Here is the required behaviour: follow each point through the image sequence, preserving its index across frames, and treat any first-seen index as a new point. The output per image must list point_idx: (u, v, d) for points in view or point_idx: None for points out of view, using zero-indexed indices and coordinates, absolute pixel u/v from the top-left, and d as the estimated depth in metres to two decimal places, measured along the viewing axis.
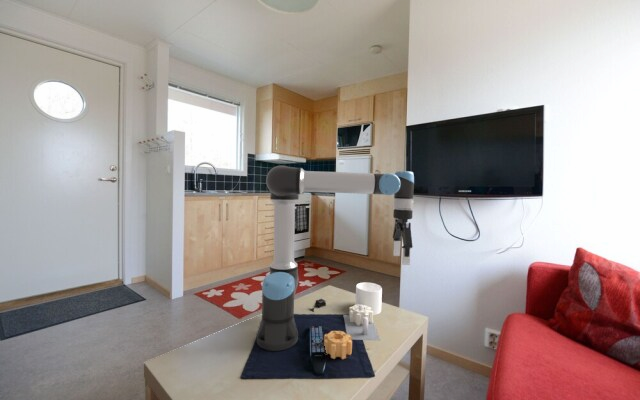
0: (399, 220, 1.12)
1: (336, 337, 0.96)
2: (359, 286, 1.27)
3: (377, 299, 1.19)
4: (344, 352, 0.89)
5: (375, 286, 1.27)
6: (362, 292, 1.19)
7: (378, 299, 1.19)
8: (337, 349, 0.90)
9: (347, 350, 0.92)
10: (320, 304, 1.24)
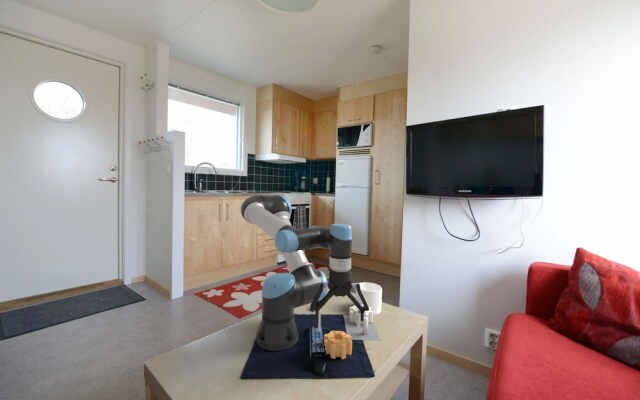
0: None
1: (336, 337, 0.96)
2: None
3: (377, 299, 1.19)
4: (344, 352, 0.89)
5: (375, 286, 1.27)
6: (362, 292, 1.19)
7: (378, 299, 1.19)
8: (337, 349, 0.90)
9: (347, 350, 0.92)
10: None
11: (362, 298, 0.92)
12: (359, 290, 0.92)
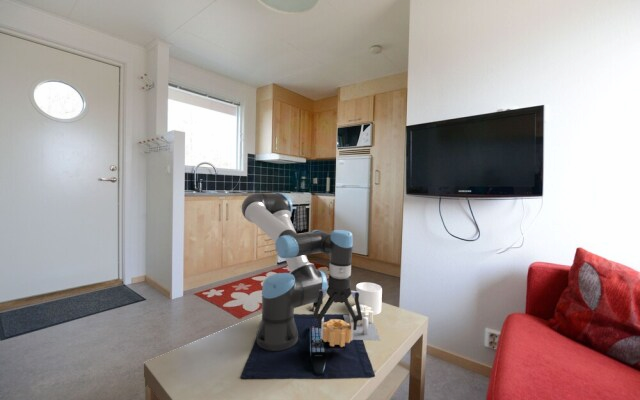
0: None
1: (335, 326, 0.96)
2: (359, 286, 1.27)
3: (377, 299, 1.19)
4: (343, 340, 0.90)
5: (375, 286, 1.27)
6: (362, 292, 1.19)
7: (378, 299, 1.19)
8: (336, 337, 0.91)
9: (346, 338, 0.92)
10: None
11: (358, 307, 0.92)
12: (357, 299, 0.92)
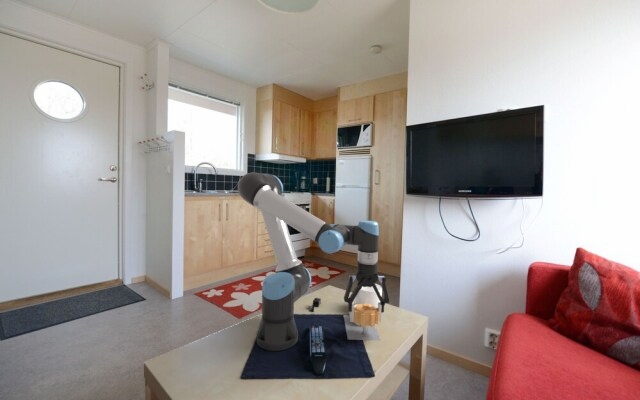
0: None
1: (364, 309, 1.04)
2: None
3: (377, 299, 1.19)
4: (373, 321, 0.98)
5: None
6: (362, 292, 1.19)
7: (378, 299, 1.19)
8: (366, 318, 0.99)
9: (375, 320, 1.00)
10: (319, 303, 1.25)
11: (385, 291, 1.01)
12: (384, 283, 1.01)
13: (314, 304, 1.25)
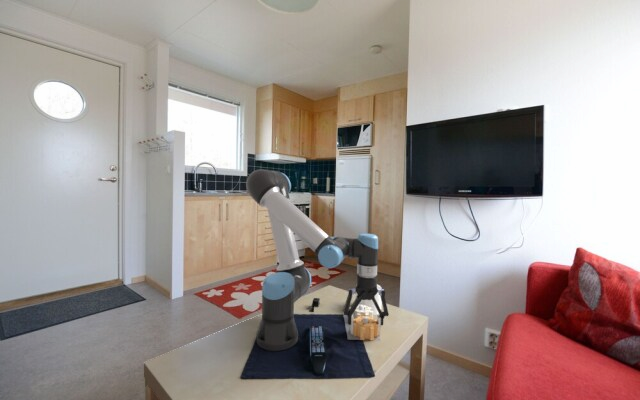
0: None
1: None
2: None
3: (377, 299, 1.19)
4: (372, 334, 0.98)
5: None
6: None
7: (378, 299, 1.19)
8: (365, 331, 0.99)
9: (374, 333, 1.00)
10: (318, 303, 1.25)
11: (384, 304, 1.01)
12: (383, 296, 1.01)
13: (314, 304, 1.25)
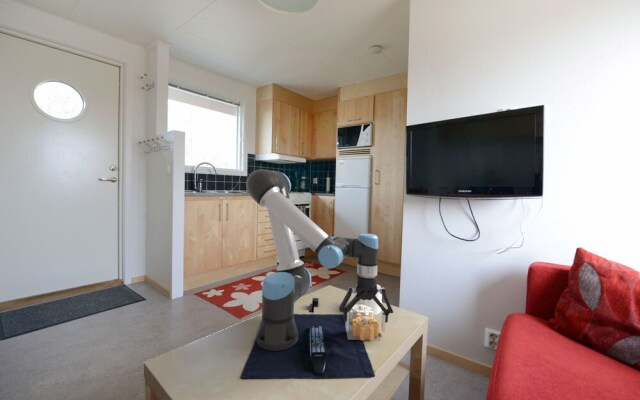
0: None
1: None
2: None
3: None
4: (372, 334, 0.98)
5: None
6: None
7: (378, 299, 1.19)
8: (365, 332, 0.99)
9: (374, 333, 1.00)
10: None
11: (387, 302, 1.01)
12: (384, 294, 1.01)
13: (313, 304, 1.25)
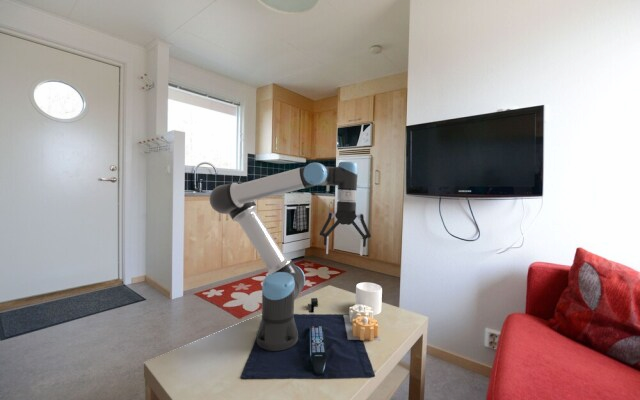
0: None
1: None
2: (359, 286, 1.27)
3: (377, 299, 1.19)
4: (372, 334, 0.98)
5: (375, 286, 1.27)
6: (362, 292, 1.19)
7: (378, 299, 1.19)
8: (365, 332, 0.99)
9: (374, 333, 1.00)
10: (317, 302, 1.26)
11: (365, 226, 1.06)
12: (362, 219, 1.06)
13: (313, 304, 1.25)
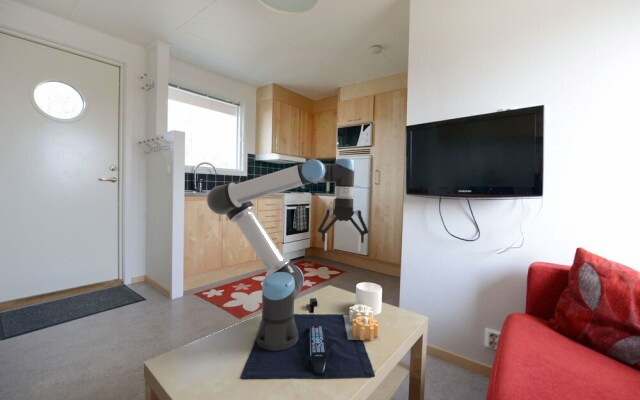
0: None
1: None
2: (359, 286, 1.27)
3: (377, 299, 1.19)
4: (372, 334, 0.98)
5: (375, 286, 1.27)
6: (362, 292, 1.19)
7: (378, 299, 1.19)
8: (365, 332, 0.99)
9: (374, 333, 1.00)
10: None
11: (362, 222, 1.07)
12: (360, 215, 1.07)
13: (313, 304, 1.24)
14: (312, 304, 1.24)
